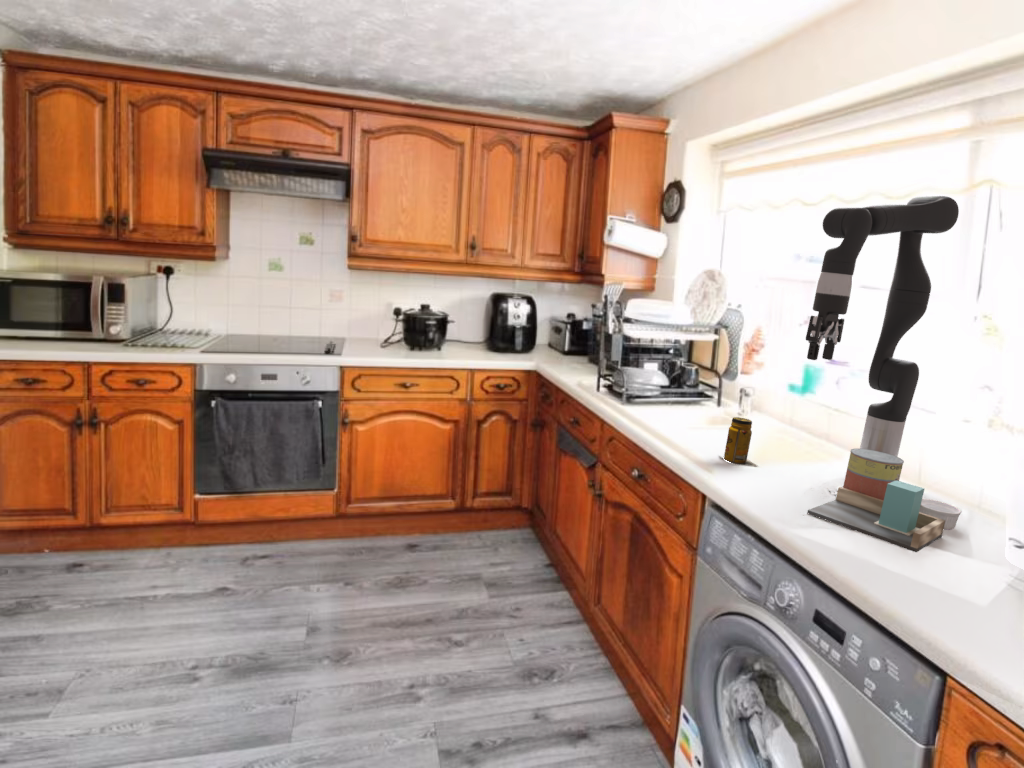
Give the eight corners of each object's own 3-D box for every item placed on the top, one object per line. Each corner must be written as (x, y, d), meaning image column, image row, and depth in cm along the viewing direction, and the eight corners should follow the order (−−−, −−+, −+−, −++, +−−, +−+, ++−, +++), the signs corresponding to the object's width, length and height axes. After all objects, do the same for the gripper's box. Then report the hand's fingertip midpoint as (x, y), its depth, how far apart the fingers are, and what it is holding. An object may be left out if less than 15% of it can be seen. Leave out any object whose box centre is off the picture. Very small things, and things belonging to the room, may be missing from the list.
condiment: (718, 456, 188) (725, 415, 186) (746, 458, 189) (754, 417, 187) (728, 464, 181) (736, 421, 179) (758, 467, 182) (766, 424, 180)
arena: (837, 502, 159) (840, 486, 158) (941, 537, 143) (945, 520, 142) (807, 513, 148) (810, 497, 147) (916, 552, 132) (920, 534, 131)
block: (887, 519, 147) (896, 480, 146) (915, 528, 143) (924, 488, 142) (878, 523, 144) (887, 483, 142) (906, 533, 140) (915, 492, 138)
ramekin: (958, 535, 146) (963, 516, 145) (911, 523, 150) (916, 505, 149) (955, 523, 154) (959, 505, 153) (910, 512, 158) (915, 495, 157)
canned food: (891, 516, 153) (903, 466, 151) (837, 502, 159) (848, 454, 156) (893, 504, 162) (904, 457, 160) (843, 491, 168) (852, 445, 166)
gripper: (836, 293, 153) (822, 362, 156) (860, 296, 163) (847, 362, 166) (804, 289, 159) (791, 357, 161) (829, 292, 168) (817, 356, 171)
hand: (819, 359), depth 164 cm, fingers open, 8 cm apart
